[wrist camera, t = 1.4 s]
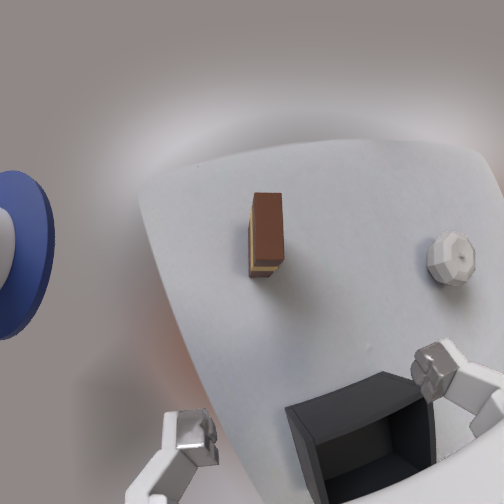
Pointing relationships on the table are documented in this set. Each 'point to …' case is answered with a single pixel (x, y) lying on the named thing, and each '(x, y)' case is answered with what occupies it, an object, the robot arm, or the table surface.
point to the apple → (451, 258)
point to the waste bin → (363, 437)
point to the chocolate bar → (265, 234)
